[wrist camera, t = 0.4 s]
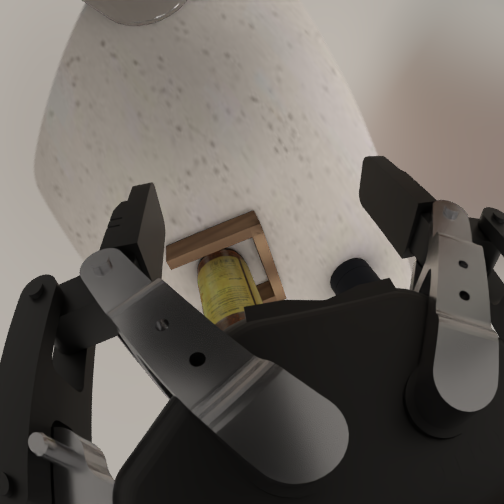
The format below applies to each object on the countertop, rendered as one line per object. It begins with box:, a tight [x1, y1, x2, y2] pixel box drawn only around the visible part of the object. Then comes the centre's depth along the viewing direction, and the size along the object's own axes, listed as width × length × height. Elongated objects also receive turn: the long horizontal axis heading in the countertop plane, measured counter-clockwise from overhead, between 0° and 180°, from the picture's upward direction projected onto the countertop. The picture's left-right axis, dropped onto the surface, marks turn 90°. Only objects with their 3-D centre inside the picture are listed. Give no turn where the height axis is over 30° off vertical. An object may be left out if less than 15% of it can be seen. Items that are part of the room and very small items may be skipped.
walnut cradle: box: [166, 211, 286, 303], centre depth 36 cm, size 12×11×3 cm
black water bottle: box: [330, 258, 380, 295], centre depth 31 cm, size 6×6×30 cm
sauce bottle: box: [198, 249, 263, 331], centre depth 29 cm, size 6×6×20 cm
